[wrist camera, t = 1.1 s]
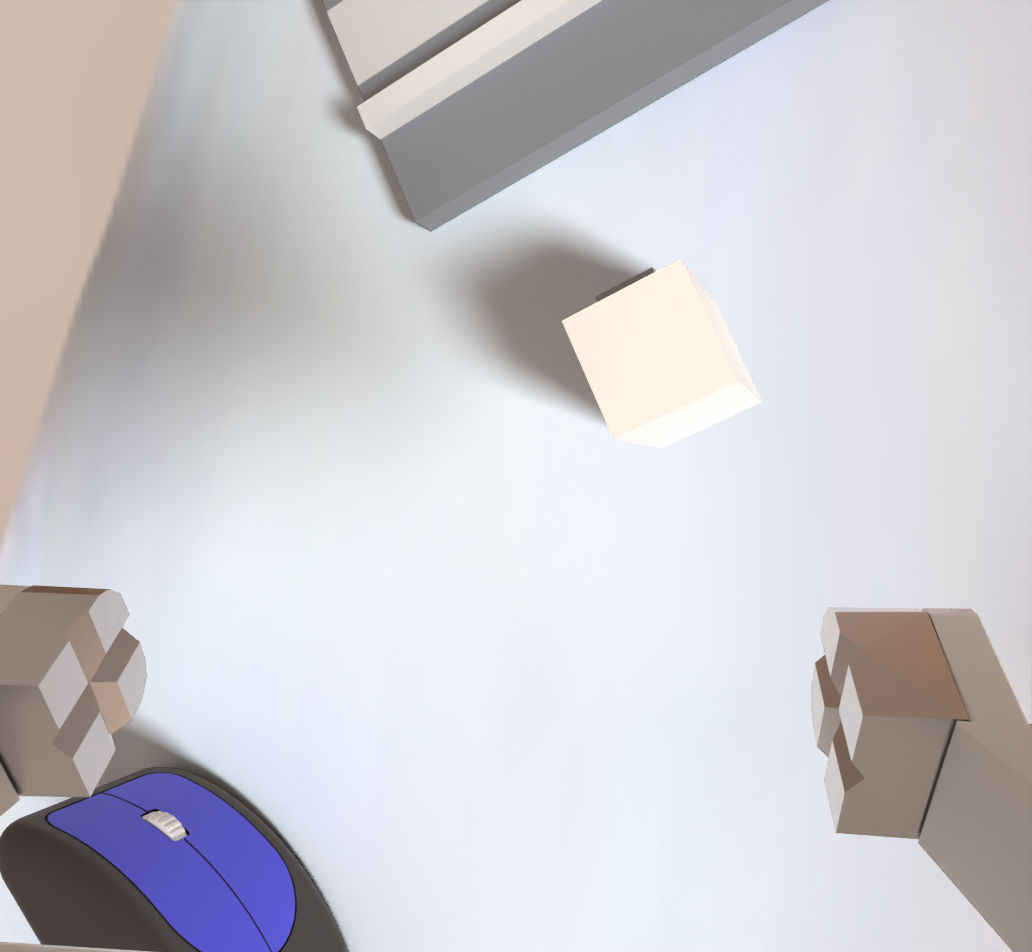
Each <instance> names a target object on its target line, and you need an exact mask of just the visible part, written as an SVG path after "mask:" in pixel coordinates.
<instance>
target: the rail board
mask: <svg viewBox="0 0 1032 952" xmlns="http://www.w3.org/2000/svg"><path fill="white" fill-rule="evenodd" d="M322 1H323V3H324V6H325V8H326V10H327V14H328V16H329V19H330V21H331V23H332V26H333V28H334V31H335V33H336V35H337V38H338V40H339V43H340V45H341V47H342V50H343V52H344V55H345V57H346V59H347V62H348V64H349V66H350V69H351V71H352V74H353V76H354V78H355V81H356V83H357V85H358V87H359V89H360V92H361V94H362V96H363V99H364V101H365V102H363V103H362V104H360V105H359V106H357V109H358V111H359V113H360V116H361V118H362V121H363V123H364V125H365V128H366V129H367V130H368V131H370V132H371V133H372V134H374V135H375V136H376V137H378V138H379V139H381V142H382V144H383V147H384V149H385V151H386V154H387V156H388V158H389V161H390V163H391V166H392V168H393V170H394V173H395V175H396V178H397V180H398V182H399V185H400V187H401V190H402V192H403V194H404V197H405V199H406V201H407V204H408V206H409V209H410V211H411V213H412V216H413V218H414V221H415V222H416V223H418V224H419V225H421V226H423V227H424V228H426V229H428V230H429V231H433V230H434V229H436V228H438V227H440V226H441V225H443V224H445V223H446V222H448V221H450V220H452V219H453V218H455V217H457V216H458V215H460V214H462V213H464V212H465V211H467V210H469V209H471V208H472V207H474V206H476V205H477V204H479V203H481V202H483V201H484V200H486V199H488V198H489V197H491V196H493V195H495V194H496V193H498V192H500V191H502V190H503V189H505V188H507V187H508V186H510V185H512V184H514V183H515V182H517V181H519V180H520V179H522V178H524V177H526V176H527V175H529V174H531V173H532V172H534V171H536V170H538V169H539V168H541V167H543V166H545V165H546V164H548V163H550V162H551V161H553V160H555V159H557V158H558V157H560V156H562V155H563V154H565V153H567V152H569V151H570V150H572V149H574V148H575V147H577V146H579V145H581V144H582V143H584V142H586V141H588V140H589V139H591V138H593V137H594V136H596V135H598V134H600V133H601V132H603V131H605V130H606V129H608V128H610V127H612V126H613V125H615V124H617V123H618V122H620V121H622V120H624V119H625V118H627V117H629V116H631V115H632V114H634V113H636V112H637V111H639V110H641V109H643V108H644V107H646V106H648V105H649V104H651V103H653V102H655V101H656V100H658V99H660V98H661V97H663V96H665V95H667V94H668V93H670V92H672V91H674V90H675V89H677V88H679V87H680V86H682V85H684V84H686V83H687V82H689V81H691V80H692V79H694V78H696V77H698V76H699V75H701V74H703V73H704V72H706V71H708V70H710V69H711V68H713V67H715V66H717V65H718V64H720V63H722V62H723V61H725V60H727V59H729V58H730V57H732V56H734V55H735V54H737V53H739V52H741V51H742V50H744V49H746V48H747V47H749V46H751V45H753V44H754V43H756V42H758V41H760V40H761V39H763V38H765V37H766V36H768V35H770V34H772V33H773V32H775V31H777V30H778V29H780V28H782V27H784V26H785V25H787V24H789V23H790V22H792V21H794V20H796V19H797V18H799V17H801V16H803V15H804V14H806V13H808V12H809V11H811V10H813V9H815V8H816V7H818V6H820V5H821V4H823V3H825V2H827V1H828V0H322Z"/></svg>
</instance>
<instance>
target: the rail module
mask: <svg viewBox="0 0 1032 952" xmlns="http://www.w3.org/2000/svg"><path fill="white" fill-rule="evenodd" d="M596 300H597V302H596V303H595V304H593V305H591V306H589V307H587V308H585V309H583V310H581V311H579V312H577V313H575V314H573V315H572V316H570V317H568V318H566V319H564V320H562V323H563V325H564V328H565V330H566V332H567V334H568V337H569V339H570V341H571V344H572V346H573V348H574V350H575V353H576V355H577V357H578V360H579V362H580V364H581V366H582V369H583V371H584V373H585V376H586V378H587V380H588V382H589V385H590V387H591V389H592V392H593V394H594V396H595V398H596V401H597V403H598V405H599V408H600V410H601V412H602V415H603V417H604V419H605V421H606V424H607V426H608V428H609V431H610V433H611V435H612V437H613V439H614V440H620V441H625V442H631V443H636V444H641V445H647V446H652V447H658V448H663V447H665V446H668V445H670V444H672V443H674V442H676V441H678V440H681V439H683V438H685V437H687V436H689V435H692V434H694V433H696V432H698V431H700V430H702V429H705V428H707V427H709V426H711V425H713V424H715V423H718V422H720V421H722V420H724V419H726V418H729V417H731V416H733V415H735V414H737V413H739V412H742V411H744V410H746V409H748V408H750V407H752V406H755V405H757V404H759V403H761V402H762V401H761V398H760V396H759V394H758V392H757V390H756V388H755V385H754V383H753V381H752V379H751V377H750V375H749V373H748V370H747V368H746V366H745V364H744V362H743V360H742V357H741V355H740V353H739V351H738V349H737V347H736V345H735V342H734V340H733V338H732V336H731V334H730V332H729V329H728V327H727V325H726V323H725V321H724V319H723V317H722V314H721V312H720V310H719V308H718V306H717V304H716V302H715V301H714V300H713V299H712V297H711V296H710V295H709V293H708V292H707V291H706V290H705V288H704V287H703V286H702V285H701V283H700V282H699V281H698V280H697V278H696V277H695V276H694V274H693V273H692V272H691V271H690V269H689V268H688V267H687V266H686V264H685V263H684V262H683V260H682V259H679V260H677V261H675V262H673V263H671V264H669V265H667V266H665V267H664V268H662V269H660V270H658V271H655V270H654V269H653V268H650V269H648V270H646V271H644V272H643V273H641V274H639V275H637V276H635V277H633V278H631V279H629V280H627V281H625V282H623V283H622V284H620V285H618V286H616V287H614V288H612V289H610V290H608V291H606V292H604V293H602V294H601V295H599V296H597V297H596Z"/></svg>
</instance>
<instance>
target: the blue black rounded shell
mask: <svg viewBox="0 0 1032 952" xmlns="http://www.w3.org/2000/svg"><path fill="white" fill-rule="evenodd" d="M0 872H1V875H2V878H3V880H4V882H5V884H6V885H7V887H8V889H9V890H10V892H11V894H12V896H13V897H14V899H15V901H16V902H17V904H18V906H19V907H20V909H21V911H22V912H23V914H24V916H25V918H26V919H27V921H28V923H29V924H30V926H31V928H32V929H33V931H34V933H35V935H36V936H37V938H38V940H39V941H40V943H41V945H57V946H72V947H88V948H103V949H119V950H135V951H150V952H348V949H347V947H346V944H345V942H344V940H343V937H342V935H341V933H340V930H339V928H338V926H337V924H336V922H335V920H334V918H333V916H332V914H331V912H330V910H329V908H328V906H327V905H326V903H325V901H324V899H323V898H322V896H321V894H320V893H319V891H318V889H317V888H316V886H315V885H314V883H313V882H312V880H311V878H310V877H309V875H308V874H307V872H306V871H305V870H304V868H303V867H302V866H301V864H300V863H299V862H298V860H297V859H296V857H295V856H294V855H293V854H292V852H291V851H290V850H289V849H288V848H287V846H286V845H285V844H284V843H283V842H282V840H281V839H280V838H279V837H278V836H277V835H276V834H275V833H274V832H273V831H272V830H271V829H270V828H269V827H268V826H267V825H266V824H265V823H264V822H263V821H262V820H261V819H260V818H259V817H258V816H257V815H256V814H255V813H253V812H252V811H251V810H250V809H249V808H248V807H246V806H245V805H244V804H243V803H241V802H240V801H239V800H237V799H236V798H235V797H233V796H232V795H230V794H229V793H228V792H226V791H224V790H223V789H221V788H220V787H218V786H217V785H215V784H213V783H211V782H209V781H208V780H206V779H203V778H201V777H199V776H197V775H195V774H192V773H190V772H187V771H184V770H180V769H175V768H167V767H151V768H147V769H143V770H141V771H138V772H136V773H133V774H131V775H128V776H126V777H123V778H120V779H118V780H115V781H113V782H110V783H108V784H105V785H103V786H100V787H98V788H95V789H94V791H93V793H92V795H91V797H73V798H70V799H68V800H65V801H62V802H60V803H57V804H55V805H52V806H50V807H47V808H45V809H42V810H40V811H37V812H35V813H32V814H30V815H27V816H25V817H22V818H20V819H18V820H16V821H14V822H13V823H11V824H10V825H9V826H8V827H7V828H6V829H5V830H4V832H3V833H2V835H1V837H0Z"/></svg>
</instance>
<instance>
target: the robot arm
mask: <svg viewBox="0 0 1032 952" xmlns="http://www.w3.org/2000/svg"><path fill="white" fill-rule="evenodd" d="M129 615H130V614H129V612H128V610H127V607H126V605H125V603H124V600H123V598H122V596H121V593H118V592H115V591H113V590H110V589H93V588H73V587H52V586H31V587H30V586H14V585H0V816H1V815H2V814H3V813H5V812H6V811H7V810H8V809H9V808H11V807H12V806H13V805H14V804H15V803H17V802H18V801H19V799H20V798H19V796H52V797H91V795H92V793H93V791H94V789H95V788H96V786H97V784H98V782H99V780H100V778H101V777H102V775H103V773H104V771H105V769H106V767H107V766H108V764H109V762H110V760H111V758H112V756H113V754H114V753H115V751H116V749H115V746H114V742H113V739H112V735H111V734H113V733H114V732H116V731H117V730H119V729H120V728H121V727H123V726H124V725H126V724H127V723H128V722H130V721H131V720H132V719H133V717H134V715H135V713H136V711H137V709H138V707H139V705H140V703H141V701H142V698H143V693H144V688H145V683H146V678H147V673H146V662H145V656H144V653H143V650H142V647H141V644H140V642H139V641H138V640H136V639H135V638H134V637H133V636H132V635H130V634H129V633H128V632H127V631H126V630H124V629H123V628H122V627H123V626H124V624H125V622H126V620H127V618H128V616H129ZM820 634H821V639H822V643H823V647H824V652H825V655H824V656H823V657H822V658H820V659H819V660H818V661H817V662H816V663H815V667H814V673H813V680H812V700H811V711H812V719H813V728H814V733H815V738H816V743H817V747H818V748H819V749H820V750H821V751H822V752H823V753H824V754H825V755H826V756H827V757H828V758H829V759H828V764H827V769H826V774H825V779H824V781H825V786H826V790H827V795H828V799H829V804H830V808H831V813H832V818H833V822H834V827H835V831H836V833H844V834H858V835H871V836H885V837H898V838H912V839H919V841H918V843H919V844H920V846H921V847H922V848H923V849H924V850H925V851H926V852H927V854H928V855H929V856H930V857H931V858H932V859H933V860H934V862H935V863H936V864H937V865H938V866H939V867H940V868H941V870H942V871H943V872H944V873H945V874H946V875H947V877H948V878H949V879H950V880H951V881H952V882H953V883H954V885H955V886H956V887H957V888H958V889H959V890H960V891H961V893H962V894H963V895H964V896H965V897H966V898H967V899H968V901H969V902H970V903H971V904H972V905H973V906H974V908H975V909H976V910H977V911H978V912H979V913H980V914H981V916H982V917H983V918H984V919H985V920H986V921H987V922H988V924H989V925H990V926H991V927H992V928H993V929H994V930H995V932H996V933H997V934H998V935H999V936H1000V937H1001V939H1002V940H1003V941H1004V942H1005V943H1006V944H1007V945H1008V947H1009V948H1010V949H1011V950H1012V951H1013V952H1032V724H1028V722H1027V720H1026V718H1025V716H1024V714H1023V712H1022V709H1021V707H1020V705H1019V703H1018V701H1017V698H1016V696H1015V694H1014V692H1013V690H1012V688H1011V685H1010V683H1009V681H1008V679H1007V677H1006V674H1005V672H1004V670H1003V668H1002V666H1001V663H1000V661H999V659H998V657H997V655H996V653H995V650H994V648H993V646H992V644H991V642H990V639H989V637H988V635H987V633H986V631H985V629H984V626H983V624H982V622H981V620H980V618H979V615H978V614H976V613H975V612H974V611H973V610H972V609H933V608H923V609H922V610H920V609H891V608H835V607H828V609H827V611H826V613H825V615H824V618H823V623H822V628H821V633H820ZM0 952H150V951H135V950H119V949H103V948H88V947H72V946H57V945H41V944H25V943H10V942H0Z"/></svg>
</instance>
